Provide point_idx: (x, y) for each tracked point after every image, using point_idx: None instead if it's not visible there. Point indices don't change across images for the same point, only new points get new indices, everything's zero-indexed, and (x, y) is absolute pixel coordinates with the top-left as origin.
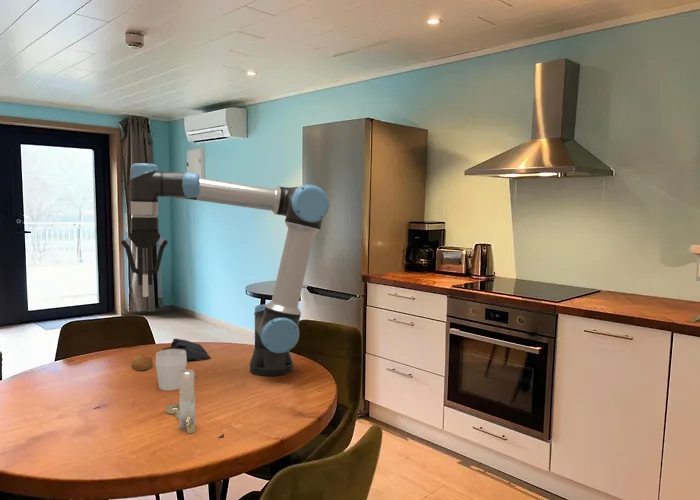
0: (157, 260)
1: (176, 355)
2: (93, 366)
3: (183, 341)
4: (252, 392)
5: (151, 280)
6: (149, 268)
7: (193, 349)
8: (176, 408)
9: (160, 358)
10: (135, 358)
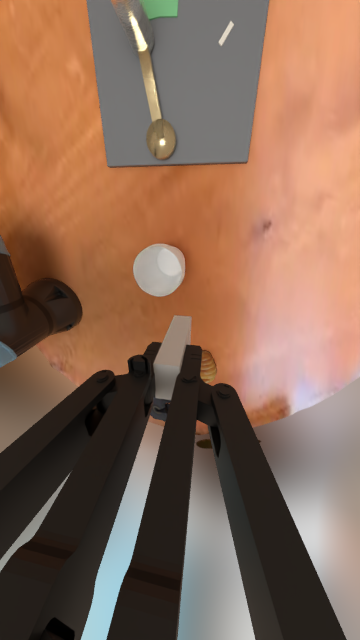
0: (55, 429)
1: (153, 291)
2: (258, 385)
3: (156, 412)
4: (70, 221)
5: (147, 352)
6: (133, 390)
7: None
8: (158, 126)
9: (174, 253)
10: (211, 376)
